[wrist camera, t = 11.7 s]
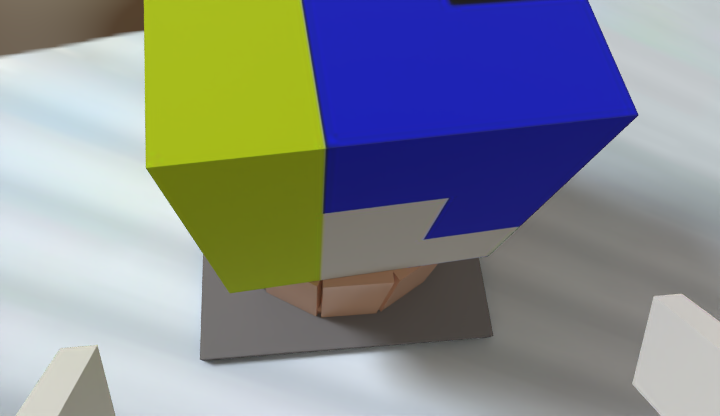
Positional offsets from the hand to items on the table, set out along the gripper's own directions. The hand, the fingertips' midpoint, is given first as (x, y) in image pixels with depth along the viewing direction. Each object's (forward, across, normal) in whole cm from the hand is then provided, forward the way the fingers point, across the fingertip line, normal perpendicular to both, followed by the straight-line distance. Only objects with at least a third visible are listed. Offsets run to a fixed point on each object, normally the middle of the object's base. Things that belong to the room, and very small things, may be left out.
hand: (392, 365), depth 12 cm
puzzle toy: (+11, 0, +2) cm, 11 cm away
